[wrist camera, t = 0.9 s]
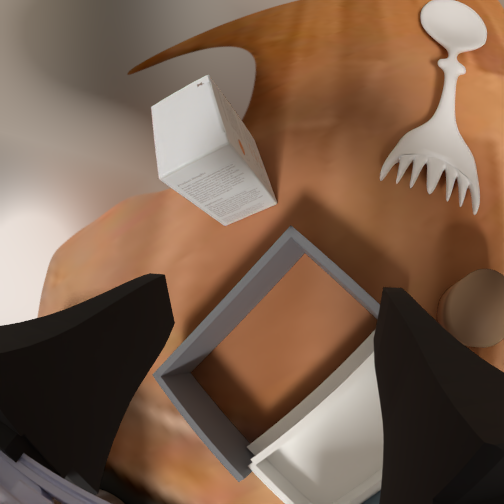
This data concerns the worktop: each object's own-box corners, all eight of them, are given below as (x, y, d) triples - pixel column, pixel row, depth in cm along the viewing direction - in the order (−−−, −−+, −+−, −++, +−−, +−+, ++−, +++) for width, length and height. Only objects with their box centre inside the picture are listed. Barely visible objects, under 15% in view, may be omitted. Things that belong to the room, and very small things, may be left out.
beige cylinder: (502, 308, 19) (528, 301, 14) (465, 358, 19) (486, 363, 15) (461, 268, 21) (480, 253, 16) (424, 317, 21) (437, 313, 17)
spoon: (375, 193, 25) (374, 174, 22) (423, 6, 28) (422, -13, 25) (470, 228, 21) (482, 213, 18) (483, 22, 24) (485, 4, 21)
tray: (476, 406, 17) (498, 420, 13) (326, 528, 18) (314, 559, 14) (386, 316, 22) (389, 312, 18) (243, 448, 23) (216, 468, 19)
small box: (208, 162, 32) (149, 105, 23) (256, 140, 31) (207, 71, 22) (224, 229, 30) (155, 180, 20) (279, 205, 28) (229, 141, 19)
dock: (403, 333, 22) (410, 333, 18) (260, 462, 23) (238, 482, 19) (304, 243, 26) (290, 225, 22) (182, 371, 27) (152, 374, 23)
